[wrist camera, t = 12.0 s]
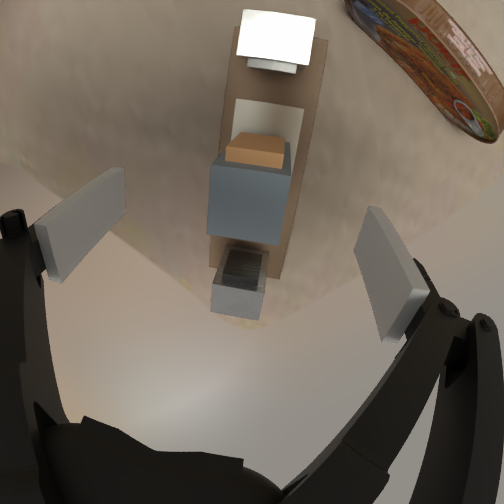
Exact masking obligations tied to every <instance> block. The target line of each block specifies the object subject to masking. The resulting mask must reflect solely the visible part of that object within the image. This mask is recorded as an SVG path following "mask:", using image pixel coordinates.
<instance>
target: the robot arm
mask: <svg viewBox="0 0 504 504" xmlns="http://www.w3.org/2000/svg"><path fill="white" fill-rule="evenodd" d="M125 213H126V202H125V184H124V168H121V167H111V168H110V169H108V170H107V171H105V172H104V173H102V174H100V175H99V176H97V177H96V178H94V179H93V180H91V181H90V182H88V183H87V184H86V185H84V186H83V187H81V188H80V189H78V190H77V191H76V192H74V193H73V194H71V195H70V196H69V197H67V198H66V199H65V200H63V201H62V202H60V203H59V204H58V205H57V206H55V207H53V208H52V209H51V210H49V211H48V212H47V213H46V214H44V215H43V216H42V217H41V218H39V219H38V220H37V221H36V222H35V223H33V224H32V225H31V226H30V227H29V228H28V227H27V223H26V218H25V214H24V211H23V210H22V209H15V210H11V211H8V212H6V213H5V214H3V215H2V216H1V217H0V231H1V234H2V239H0V504H373V502H374V501H375V500H376V498H377V497H378V496H379V494H380V493H381V492H382V490H383V489H384V487H385V486H386V484H387V482H388V480H389V477H390V475H389V474H388V469H389V467H390V465H391V464H392V462H393V461H394V459H395V458H396V456H397V455H398V453H399V451H400V450H401V448H402V446H403V445H404V443H405V441H406V440H407V438H408V436H409V435H410V433H411V431H412V429H413V427H414V426H415V424H416V422H417V420H418V418H419V416H420V414H421V412H422V410H423V408H424V406H425V404H426V402H427V400H428V398H429V396H430V394H431V392H432V390H433V387H434V385H435V383H436V381H437V378H438V376H439V374H440V378H439V386H438V393H437V399H436V405H435V411H434V416H433V421H432V426H431V431H430V435H429V439H428V443H427V448H426V451H425V455H424V459H423V462H422V466H421V469H420V473H419V476H418V479H417V482H416V485H415V488H414V491H413V494H412V497H411V499H410V502H409V504H495V502H496V497H497V491H498V486H499V480H500V473H501V464H502V455H503V443H504V380H503V367H502V358H501V349H500V342H499V336H498V329H497V327H496V325H495V323H494V321H493V320H492V319H491V318H490V317H489V316H487V315H485V314H482V313H477V314H476V315H475V316H474V318H473V319H472V321H469V320H466V319H464V318H461V317H460V313H459V310H458V309H457V307H456V306H455V305H454V304H453V303H452V302H451V301H449V300H447V299H445V298H441V297H440V296H439V294H438V292H437V290H436V288H435V286H434V285H433V283H432V281H430V280H431V279H430V278H429V276H428V275H427V272H426V270H425V269H424V267H423V266H422V265H421V264H420V263H419V262H418V261H417V260H416V259H415V258H412V257H411V255H410V253H409V252H408V250H407V248H406V247H405V245H404V243H403V242H402V240H401V238H400V237H399V235H398V233H397V232H396V230H395V229H394V227H393V225H392V224H391V222H390V221H389V219H388V218H387V216H386V215H385V213H384V211H383V210H382V209H381V208H376V207H372V206H369V207H368V210H367V213H366V216H365V219H364V222H363V225H362V228H361V231H360V234H359V236H358V239H357V242H356V245H355V248H354V252H355V255H356V258H357V261H358V264H359V267H360V270H361V273H362V276H363V280H364V283H365V286H366V289H367V293H368V296H369V299H370V302H371V306H372V309H373V313H374V316H375V320H376V323H377V327H378V331H379V335H380V338H381V342H387V343H398V342H399V340H400V339H401V337H402V336H403V334H404V333H405V335H406V338H407V341H406V343H405V344H404V346H403V347H402V349H401V350H400V351H399V353H398V354H397V355H396V357H395V360H394V361H393V363H392V364H391V366H390V367H389V369H388V370H387V371H386V373H385V375H384V376H383V377H382V379H381V380H380V381H379V383H378V384H377V386H376V387H375V388H374V390H373V391H372V392H371V394H370V395H369V396H368V398H367V399H366V401H365V402H364V403H363V404H362V406H361V407H360V408H359V409H358V411H357V412H356V413H355V415H354V416H353V417H352V418H351V419H350V421H349V422H348V423H347V424H346V425H345V427H344V428H343V429H342V430H341V431H340V432H339V434H338V435H337V436H336V437H335V438H334V439H333V440H332V441H331V443H330V444H329V445H328V446H327V447H326V448H325V449H324V450H323V451H322V452H321V453H320V454H319V455H318V456H317V458H316V459H315V460H314V461H313V462H312V463H311V464H310V465H309V466H308V467H307V468H306V469H304V470H303V471H302V472H301V473H300V474H299V475H298V476H297V477H296V478H295V479H293V480H292V481H291V482H290V483H289V484H288V485H286V486H285V487H284V488H283V489H282V490H280V489H279V488H278V487H277V486H276V485H275V484H274V483H273V482H271V481H270V480H269V479H267V478H266V477H264V476H262V475H261V474H259V473H257V472H255V471H253V470H251V469H248V468H245V467H243V461H244V459H241V458H234V457H228V456H222V455H216V454H210V453H205V452H163V451H155V450H153V449H151V448H149V447H147V446H145V445H144V444H142V443H140V442H139V441H137V440H135V439H134V438H132V437H130V436H129V435H127V434H126V433H124V432H122V431H121V430H119V429H117V428H115V427H111V426H109V425H107V424H104V423H101V422H98V421H96V420H94V419H91V418H89V417H87V416H84V417H83V419H82V422H81V423H70V422H69V420H68V419H67V417H66V415H65V413H64V410H63V407H62V403H61V400H60V395H59V391H58V387H57V382H56V378H55V373H54V368H53V362H52V357H51V351H50V344H49V337H48V330H47V321H46V311H45V299H44V281H43V278H42V275H41V273H42V272H43V271H44V270H45V269H46V270H47V273H48V277H49V279H50V280H52V281H55V282H59V283H63V282H64V280H65V279H66V278H67V277H68V275H69V274H70V273H71V272H72V271H73V270H74V268H75V267H76V266H77V265H78V264H79V263H80V262H81V260H82V259H83V258H84V257H85V256H86V255H87V254H88V252H89V251H90V250H91V249H92V248H93V247H94V246H95V245H96V244H97V243H98V242H99V240H100V239H101V238H102V237H103V236H104V235H105V234H106V233H107V232H108V231H109V230H110V229H111V228H112V227H113V226H114V225H115V224H116V223H117V222H118V220H119V219H120V218H121V217H122V216H123V215H124V214H125Z"/></svg>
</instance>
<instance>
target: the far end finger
mask: <svg viewBox="0 0 504 504" xmlns="http://www.w3.org/2000/svg"><path fill="white" fill-rule="evenodd" d="M268 259H269V251H266V250H260V249H255V248H249V247H243V246H237V245H232V244H226V247H225V249H224V252H223V255H222V258H221V261H220V263H219V266H218V269H217V272H216V275H215V277H214V280H213V283H212V295H211V312H215V313H220V314H225V315H230V316H236V317H241V318H247V319H253V320H259V316H260V311H261V307H262V302H263V298H264V293H265V284H266V276H267V268H268Z"/></svg>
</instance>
